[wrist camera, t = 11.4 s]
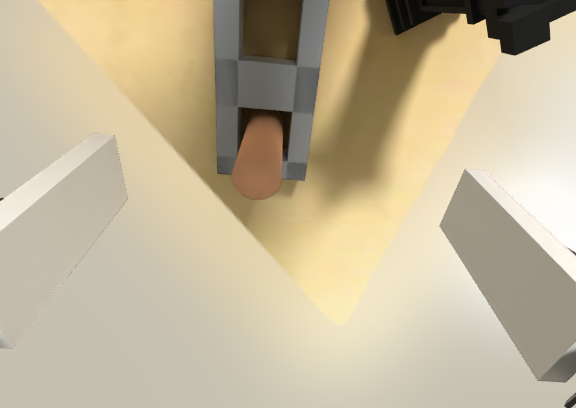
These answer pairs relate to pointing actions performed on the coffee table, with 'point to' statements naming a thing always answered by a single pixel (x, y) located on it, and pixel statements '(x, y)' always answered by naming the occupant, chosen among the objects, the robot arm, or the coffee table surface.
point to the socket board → (266, 84)
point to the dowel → (260, 156)
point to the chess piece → (488, 18)
